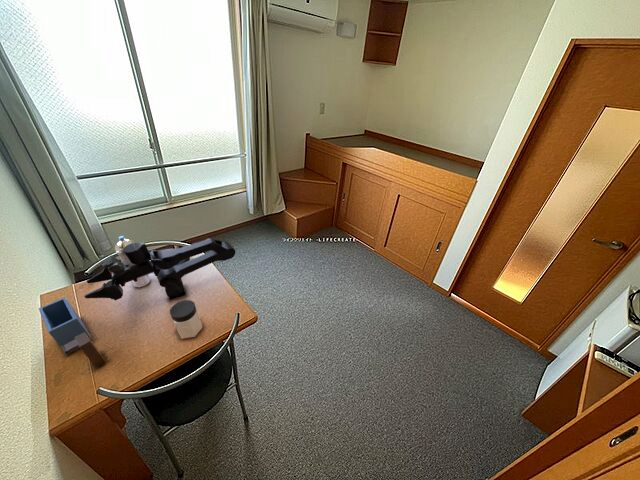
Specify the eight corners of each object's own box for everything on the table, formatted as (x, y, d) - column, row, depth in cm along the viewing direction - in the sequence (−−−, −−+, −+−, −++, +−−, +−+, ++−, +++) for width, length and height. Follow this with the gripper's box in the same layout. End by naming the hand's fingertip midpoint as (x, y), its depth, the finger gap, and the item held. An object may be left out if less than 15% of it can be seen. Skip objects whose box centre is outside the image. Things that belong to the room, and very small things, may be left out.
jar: (174, 340, 93) (165, 319, 86) (179, 322, 99) (171, 301, 92) (201, 336, 94) (194, 315, 88) (204, 319, 101) (197, 298, 94)
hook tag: (100, 353, 87) (84, 331, 80) (106, 362, 84) (89, 341, 78) (79, 365, 83) (60, 344, 76) (84, 375, 81) (65, 354, 74)
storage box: (81, 319, 97) (65, 296, 90) (93, 340, 90) (76, 318, 84) (57, 330, 93) (38, 308, 86) (67, 354, 86) (48, 332, 79)
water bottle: (146, 275, 119) (126, 230, 105) (153, 282, 116) (134, 236, 102) (130, 283, 114) (107, 237, 100) (137, 290, 111) (114, 244, 97)
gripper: (125, 242, 98) (75, 258, 91) (126, 267, 84) (68, 288, 78) (138, 264, 104) (93, 281, 97) (142, 290, 91) (89, 312, 84)
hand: (86, 289), depth 89 cm, fingers open, 9 cm apart
